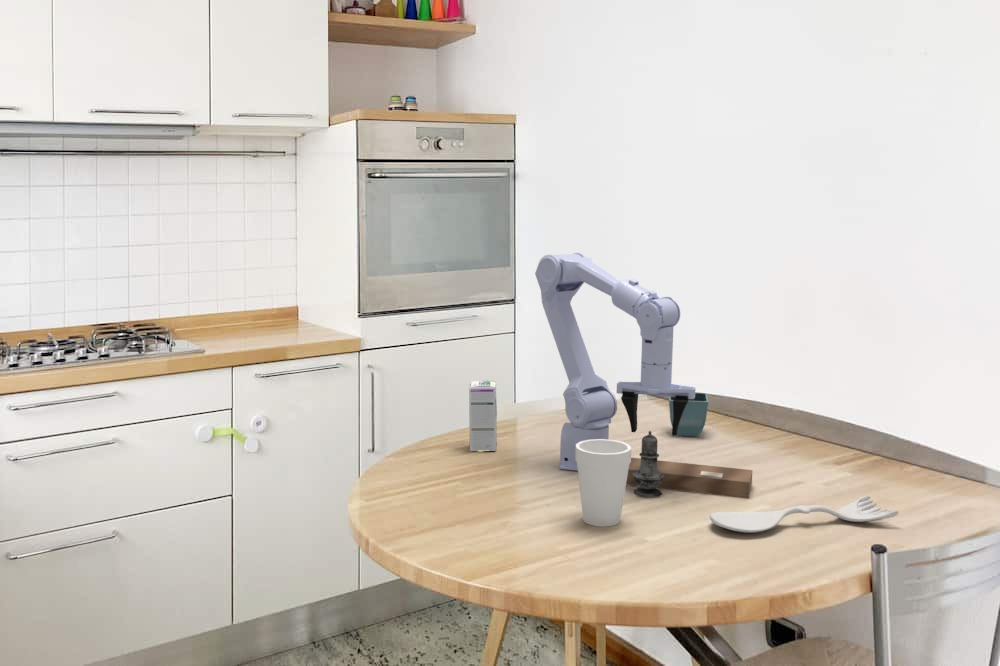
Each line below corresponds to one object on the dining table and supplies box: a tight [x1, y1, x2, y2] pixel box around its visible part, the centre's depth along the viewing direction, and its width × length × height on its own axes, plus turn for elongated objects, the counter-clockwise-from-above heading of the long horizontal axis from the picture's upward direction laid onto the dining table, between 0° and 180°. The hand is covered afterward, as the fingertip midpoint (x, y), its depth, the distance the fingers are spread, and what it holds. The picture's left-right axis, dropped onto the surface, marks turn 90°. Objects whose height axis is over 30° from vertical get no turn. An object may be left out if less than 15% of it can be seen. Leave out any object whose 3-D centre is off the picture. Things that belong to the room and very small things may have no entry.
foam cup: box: [575, 439, 632, 528], centre depth 160 cm, size 10×9×13 cm
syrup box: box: [468, 380, 498, 452], centre depth 202 cm, size 6×6×14 cm
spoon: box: [708, 494, 899, 534], centre depth 159 cm, size 9×32×4 cm, turn 102°
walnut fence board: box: [626, 457, 753, 499], centre depth 180 cm, size 24×8×3 cm, turn 71°
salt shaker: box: [633, 430, 664, 499], centre depth 174 cm, size 6×6×12 cm
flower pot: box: [668, 392, 709, 438], centre depth 216 cm, size 9×9×9 cm
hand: (654, 432), depth 178 cm, fingers open, 7 cm apart
